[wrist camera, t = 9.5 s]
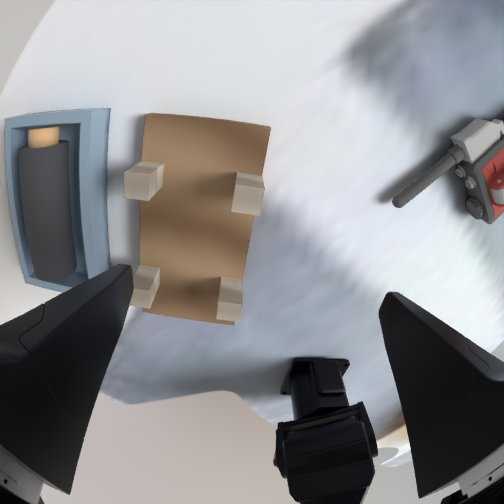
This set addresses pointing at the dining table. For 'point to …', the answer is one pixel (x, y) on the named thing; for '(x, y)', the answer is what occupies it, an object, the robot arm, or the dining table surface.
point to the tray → (80, 186)
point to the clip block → (195, 214)
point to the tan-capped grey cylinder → (47, 203)
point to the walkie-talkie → (471, 169)
